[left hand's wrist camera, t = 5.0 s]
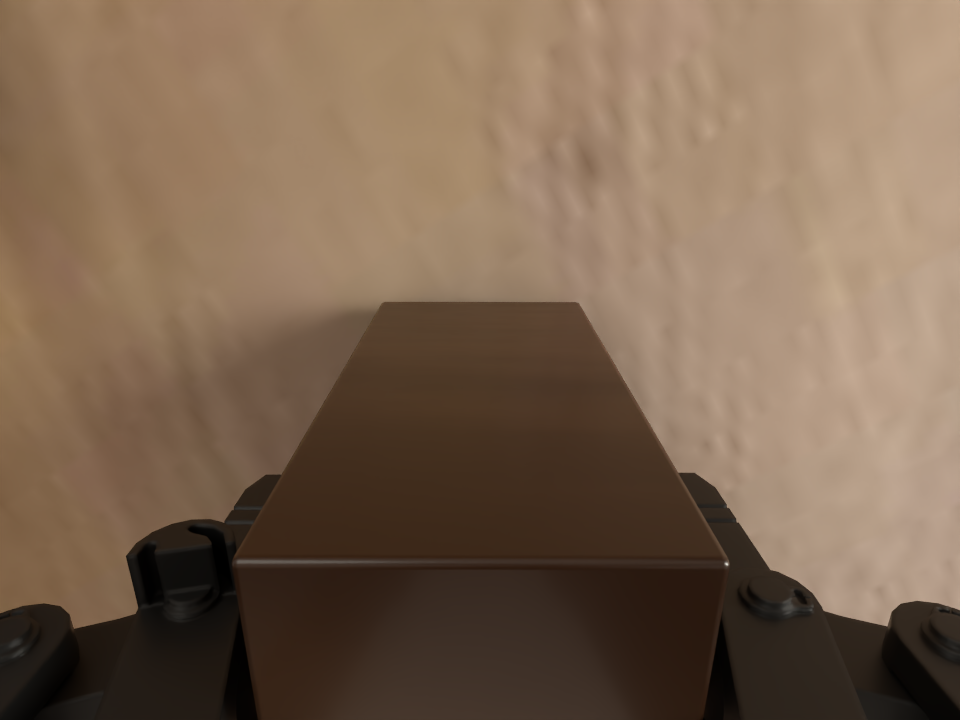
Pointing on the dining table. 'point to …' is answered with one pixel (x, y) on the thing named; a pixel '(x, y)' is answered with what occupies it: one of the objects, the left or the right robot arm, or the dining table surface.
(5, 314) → the dining table surface
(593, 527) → the plank
